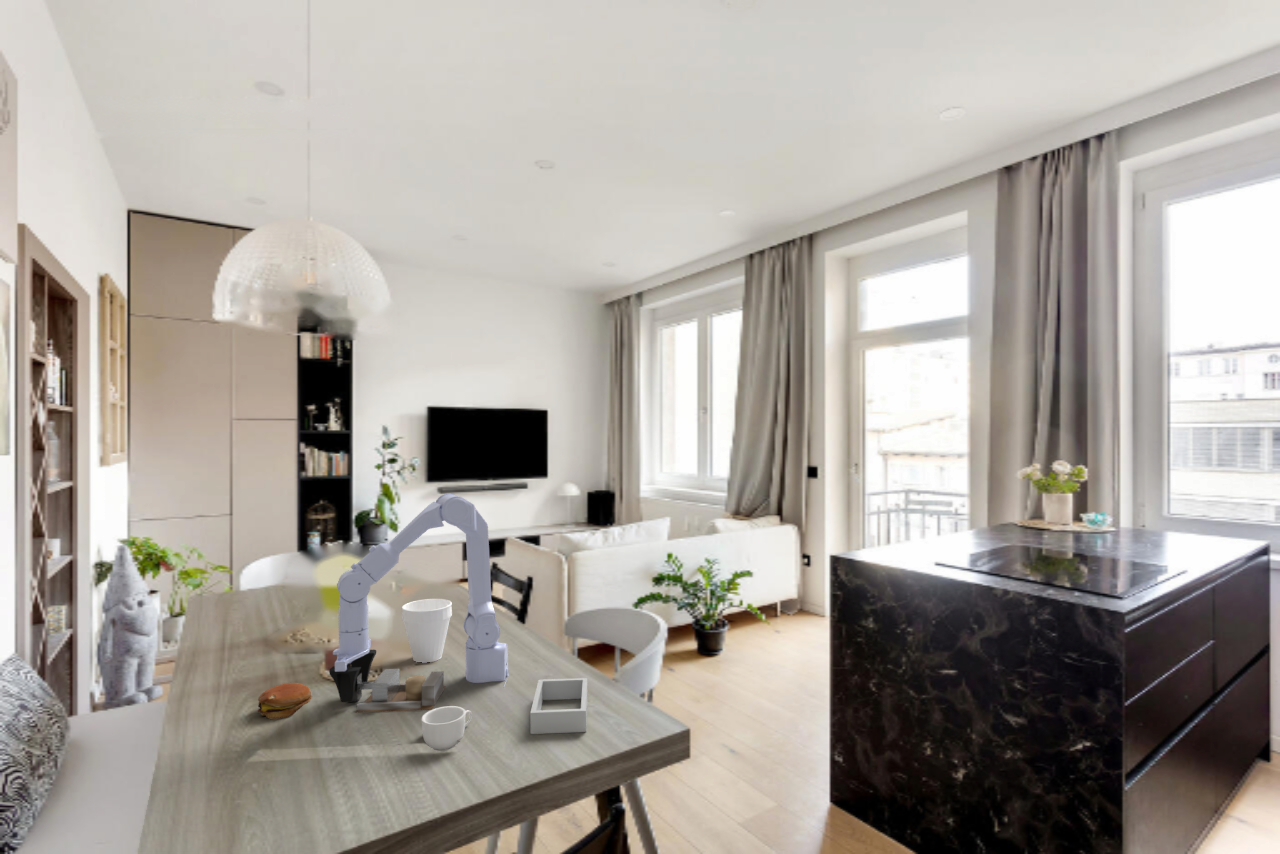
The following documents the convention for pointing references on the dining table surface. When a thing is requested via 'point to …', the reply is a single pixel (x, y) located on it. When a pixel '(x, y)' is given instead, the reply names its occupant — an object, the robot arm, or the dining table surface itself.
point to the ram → (379, 686)
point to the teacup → (444, 726)
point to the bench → (398, 703)
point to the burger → (283, 700)
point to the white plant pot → (427, 627)
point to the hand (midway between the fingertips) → (354, 693)
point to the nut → (414, 688)
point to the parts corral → (564, 717)
